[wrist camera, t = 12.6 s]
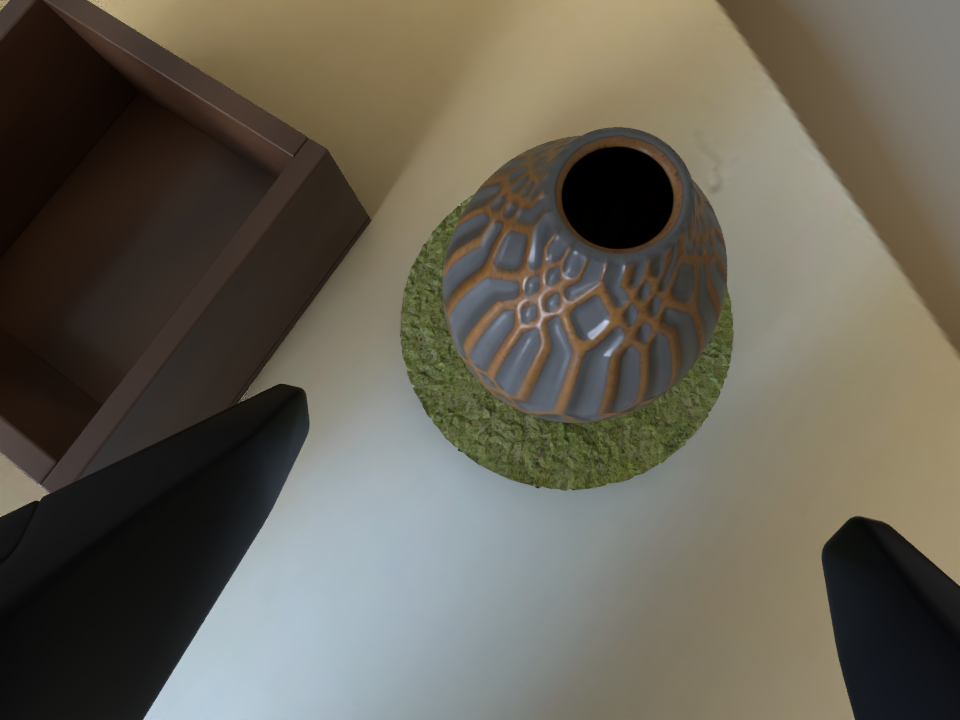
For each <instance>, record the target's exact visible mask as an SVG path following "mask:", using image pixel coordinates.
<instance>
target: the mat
mask: <svg viewBox="0 0 960 720" xmlns="http://www.w3.org/2000/svg"><path fill="white" fill-rule="evenodd" d="M473 196H474V195H472V196H471V197H469V198H468V199H467V200H465V201H464V202H463V203H461V206H457V208H456V209H454V211H453V212H452V213H451V214H449V215H448V216H447V217H446V218H445V219H444V220H443V221H442V222H441V223H440V224H439V226H438V227H437V228H436V229H435V230H434V231H433V232H432V234H431V236H430V238H429V239H428V241H427V242H426V244H424V245H423V247H422V250H421V252H420V254H419V256H418V257H417V258H416V261H415V263H414V265H413V266H412V268H411V272H410V276H409V277H408V281H407V285H406V288H405V291H404V296H403V306H402V312H401V334H400V337H401V345H402V348H403V349H402V354H403V358H404V360H405V364H406V367H407V373H408V376H409V379H410V381H411V383H412V384H413V385H414V388H413V389H414V391H415V393H416V394H417V396H418V398H419V399H420V401H421V403H422V405H423V407H424V409H425V411H426V413H427V415H428V416H429V417H430V418H432V420H433V423H434V424H435V425H436V426H437V427H438V428H439V429H440V431H441V432H442V433H443V435H444V436H445V438H446V439H447V440H449V441H450V442H451V443H452V444H453V445H454V446H455V447H458V448H459V449H458V451H461V452H464V453H465V454H466V455H467V456H468V457H469V458H471V459H472V460H473V461H475V462H476V463H477V464H479V465H481V466H483V467H485V468H487V469H489V470H491V471H493V472H495V473H497V474H499V475H501V476H504V477H506V478H508V479H511V480H514V481H517V482H521V483H525V484H529V485H532V486H534V487H536V488H539V487H541V486H543V487H546V488H550V489H561V490H568V489H570V488H571V489H572V490H578V489H589V488H595V487H600V486H603V485H606V484H607V483H617V482H621V481H625V480H629V479H631V478H633V476H635V475H639V474H643V473H645V472H646V471H648V470H649V469H651V468H653V467H654V466H656V465H659V463H662V462H663V461H664V460H665V459H666V458H668V457H669V456H670V455H672V454H673V453H674V452H675V451H677V450H678V449H679V448H681V447H682V446H683V445H685V443H686V440H687V439H689V438H690V437H691V436H692V435H693V434H694V433H695V432H696V431H697V430H698V428H699V427H700V426H701V425H702V423H703V421H704V420H705V419H706V418H707V417H708V412H709V411H711V408H712V407H713V405H714V404H715V403H716V401H717V399H718V397H719V394H720V390H721V389H722V386H723V383H724V379H725V378H726V377H727V374H726V373H727V371H728V369H729V367H730V366H729V365H728V364H729V363H730V359H731V352H732V342H733V329H732V328H733V321H732V313H731V301H730V297H729V294H728V290H727V286H726V292H725V298H724V302H723V306H722V310H721V314H720V317H719V320H718V323H717V325H716V327H715V330H714V332H713V334H712V336H711V339H710V340H709V342H708V344H707V346H706V348H705V349H704V351H703V353H702V354H701V356H700V357H699V359H698V360H697V362H696V363H695V364H694V365H693V367H692V368H691V369H690V370H689V372H688V373H687V374H686V375H685V376H684V377H683V378H682V379H681V380H680V381H679V382H678V383H677V384H676V385H675V386H673V387H672V388H671V389H670V390H669V391H667V392H666V393H665V394H664V395H662V396H661V397H659V398H658V399H656V400H655V401H653V402H652V403H650V404H648V405H646V406H644V407H642V408H640V409H638V410H636V411H633V412H631V413H628V414H625V415H622V416H620V417H616V418H612V419H609V420H603V421H598V422H588V423H564V422H556V421H550V420H545V419H541V418H538V417H534V416H531V415H529V414H526V413H524V412H521V411H519V410H517V409H515V408H513V407H511V406H510V405H508V404H506V403H505V402H503V401H502V400H500V399H499V398H497V397H496V396H495V395H493V394H492V393H491V392H490V391H488V390H487V389H486V388H485V387H484V386H483V385H482V384H481V383H480V382H479V381H478V379H477V378H476V377H475V376H474V375H473V374H472V372H471V371H470V370H469V368H468V367H467V366H466V364H465V363H464V361H463V359H462V358H461V356H460V354H459V352H458V351H457V349H456V346H455V344H454V342H453V340H452V337H451V334H450V331H449V328H448V325H447V321H446V317H445V312H444V306H443V295H442V283H443V269H444V263H445V258H446V254H447V250H448V246H449V243H450V240H451V237H452V234H453V232H454V229H455V227H456V225H457V223H458V220H459V219H460V217H461V215H462V213H463V211H464V209H465V208H466V206H467V205H468V203H469V202H470V200H471V199H472V197H473ZM658 462H659V463H658Z"/></svg>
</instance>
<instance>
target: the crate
mask: <svg viewBox="0 0 960 720" xmlns="http://www.w3.org/2000/svg"><path fill="white" fill-rule="evenodd" d="M370 221H371V219H370V217H369V216H368V215H367V213H366V211H365V210H364V208H363V206H362V205H361V203H360V201H359V200H358V198H357V197H356V195H355V193H354V192H353V190H352V188H351V187H350V185H349V184H348V182H347V180H346V179H345V177H344V175H343V174H342V172H341V171H340V169H339V167H338V166H337V164H336V162H335V161H334V159H333V158H332V156H331V154H330V153H329V151H328V150H327V149H326V148H324V147H323V146H321V145H319V144H318V143H316V142H315V141H313V140H311V139H308V137H307V136H305V135H304V134H302V133H300V132H299V131H297V130H295V129H294V128H292V127H291V126H289V125H287V124H286V123H284V122H283V121H281V120H279V119H278V118H276V117H274V116H273V115H271V114H270V113H268V112H266V111H265V110H263V109H262V108H260V107H258V106H257V105H255V104H254V103H252V102H250V101H249V100H247V99H245V98H244V97H242V96H241V95H239V94H237V93H236V92H234V91H233V90H231V89H229V88H228V87H226V86H225V85H223V84H221V83H220V82H218V81H216V80H215V79H213V78H212V77H210V76H208V75H207V74H205V73H204V72H202V71H200V70H199V69H197V68H195V67H194V66H192V65H191V64H189V63H187V62H186V61H184V60H183V59H181V58H179V57H178V56H176V55H175V54H173V53H171V52H170V51H168V50H166V49H165V48H163V47H162V46H160V45H158V44H157V43H155V42H154V41H152V40H150V39H149V38H147V37H145V36H144V35H142V34H141V33H139V32H137V31H136V30H134V29H133V28H131V27H129V26H128V25H126V24H125V23H123V22H121V21H120V20H118V19H116V18H115V17H113V16H112V15H110V14H108V13H107V12H105V11H104V10H102V9H100V8H99V7H97V6H95V5H94V4H92V3H91V2H89V1H87V0H10V1H9V2H8V3H7V4H6V5H5V6H4V8H3V9H2V10H1V11H0V453H1V454H2V455H3V456H4V457H6V458H7V459H8V460H9V461H11V462H12V463H13V464H14V465H15V466H17V467H18V468H19V469H20V470H21V471H23V472H24V473H25V474H26V475H28V476H29V477H30V478H31V479H32V480H34V481H35V482H36V483H37V484H40V485H41V486H42V487H43V488H44V489H45V490H46V491H47V492H49V493H53V492H55V491H57V490H59V489H61V488H63V487H65V486H67V485H69V484H71V483H73V482H75V481H78V480H80V479H82V478H84V477H86V476H88V475H90V474H92V473H94V472H96V471H98V470H101V469H103V468H105V467H107V466H109V465H111V464H113V463H115V462H117V461H119V460H121V459H123V458H126V457H128V456H130V455H132V454H134V453H136V452H138V451H140V450H142V449H144V448H146V447H149V446H151V445H153V444H155V443H157V442H159V441H161V440H163V439H165V438H167V437H169V436H171V435H174V434H176V433H178V432H180V431H182V430H184V429H186V428H188V427H190V426H192V425H194V424H197V423H199V422H201V421H203V420H205V419H207V418H209V417H211V416H213V415H215V414H217V413H219V412H222V411H224V410H226V409H228V408H230V407H232V406H234V405H236V403H237V402H238V401H239V399H240V398H241V397H242V395H243V394H244V392H245V391H246V390H247V388H248V387H249V386H250V384H251V383H252V382H253V380H254V379H255V378H256V376H257V375H258V373H259V372H260V371H261V369H262V368H263V367H264V365H265V364H266V363H267V361H268V360H269V359H270V357H271V356H272V354H273V353H274V352H275V350H276V349H277V348H278V346H279V345H280V344H281V342H282V341H283V340H284V338H285V337H286V335H287V334H288V333H289V331H290V330H291V329H292V327H293V326H294V325H295V323H296V322H297V320H298V319H299V318H300V316H301V315H302V314H303V312H304V311H305V310H306V308H307V307H308V306H309V304H310V303H311V301H312V300H313V299H314V297H315V296H316V295H317V293H318V292H319V291H320V289H321V288H322V287H323V285H324V284H325V282H326V281H327V280H328V278H329V277H330V276H331V274H332V273H333V272H334V270H335V269H336V268H337V266H338V265H339V263H340V262H341V261H342V259H343V258H344V257H345V255H346V254H347V253H348V251H349V250H350V249H351V247H352V246H353V244H354V243H355V242H356V240H357V239H358V238H359V236H360V235H361V234H362V232H363V231H364V229H365V228H366V227H367V225H368V224H369V223H370Z"/></svg>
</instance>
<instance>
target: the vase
mask: <svg viewBox="0 0 960 720" xmlns="http://www.w3.org/2000/svg"><path fill="white" fill-rule="evenodd" d="M726 286H727V256H726V248H725V242H724V238H723V234H722V231H721V228H720V225H719V222H718V220H717V217H716V215H715V213H714V211H713V208H712V206H711V205H710V203H709V201H708V199H707V198H706V196H705V195H704V193H703V192H702V190H701V189H700V188H699V187H698V185H697V184H696V183H695V182H694V181H693V179H692V178H691V176H690V173H689V171H688V169H687V167H686V165H685V163H684V162H683V160H682V159H681V158H680V156H679V155H678V154H677V153H676V152H675V151H674V150H673V149H672V148H671V147H670V146H669V145H668V144H666V143H665V142H663V141H662V140H660V139H659V138H657V137H655V136H653V135H651V134H649V133H646V132H643V131H640V130H636V129H631V128H622V127H614V128H604V129H599V130H595V131H592V132H589V133H587V134H584V135H582V136H573V137H567V138H562V139H557V140H554V141H550V142H547V143H544V144H541V145H539V146H536V147H534V148H532V149H529V150H527V151H525V152H523V153H522V154H520V155H518V156H516V157H515V158H513V159H511V160H510V161H509V162H507V163H506V164H504V165H503V166H502V167H501V168H499V169H498V170H497V171H496V172H495V173H494V174H493V175H491V176H490V177H489V178H488V179H487V180H486V181H485V182H484V183H483V185H482V186H481V187H480V188H479V189H478V191H477V192H476V193H475V194H474V196H473V197H472V199H471V200H470V202H469V203H468V205H467V206H466V208H465V209H464V211H463V213H462V215H461V217H460V219H459V220H458V223H457V225H456V227H455V229H454V232H453V234H452V237H451V240H450V243H449V246H448V250H447V254H446V258H445V263H444V269H443V283H442V295H443V306H444V312H445V317H446V321H447V325H448V328H449V331H450V334H451V337H452V340H453V342H454V344H455V346H456V349H457V351H458V352H459V354H460V356H461V358H462V359H463V361H464V363H465V364H466V366H467V367H468V368H469V370H470V371H471V372H472V374H473V375H474V376H475V377H476V378H477V379H478V381H479V382H480V383H481V384H482V385H483V386H484V387H485V388H486V389H487V390H488V391H490V392H491V393H492V394H493V395H495V396H496V397H497V398H499V399H500V400H502V401H503V402H505V403H506V404H508V405H510V406H511V407H513V408H515V409H517V410H519V411H521V412H524V413H526V414H529V415H531V416H534V417H538V418H541V419H545V420H550V421H556V422H564V423H588V422H598V421H603V420H609V419H612V418H616V417H620V416H622V415H625V414H628V413H631V412H633V411H636V410H638V409H640V408H642V407H644V406H646V405H648V404H650V403H652V402H653V401H655V400H656V399H658V398H659V397H661V396H662V395H664V394H665V393H666V392H667V391H669V390H670V389H671V388H672V387H673V386H675V385H676V384H677V383H678V382H679V381H680V380H681V379H682V378H683V377H684V376H685V375H686V374H687V373H688V372H689V370H690V369H691V368H692V367H693V365H694V364H695V363H696V362H697V360H698V359H699V357H700V356H701V354H702V353H703V351H704V349H705V348H706V346H707V344H708V342H709V340H710V339H711V336H712V334H713V332H714V330H715V327H716V325H717V323H718V320H719V317H720V314H721V310H722V306H723V302H724V298H725V292H726Z"/></svg>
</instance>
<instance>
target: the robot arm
mask: <svg viewBox="0 0 960 720" xmlns="http://www.w3.org/2000/svg"><path fill="white" fill-rule="evenodd" d="M309 425H310V424H309V414H308V405H307V397H306V393H305V391H304V390H303V389H302V388H299V387H295V386H290V385H286V384H279V385H276V386H274V387H272V388H270V389H267V390H265V391H263V392H261V393H259V394H257V395H255V396H253V397H251V398H249V399H247V400H245V401H242V402H240V403H238V404H236V405H234V406H232V407H230V408H228V409H226V410H224V411H222V412H219V413H217V414H215V415H213V416H211V417H209V418H207V419H205V420H203V421H201V422H199V423H197V424H194V425H192V426H190V427H188V428H186V429H184V430H182V431H180V432H178V433H176V434H174V435H171V436H169V437H167V438H165V439H163V440H161V441H159V442H157V443H155V444H153V445H151V446H149V447H146V448H144V449H142V450H140V451H138V452H136V453H134V454H132V455H130V456H128V457H126V458H123V459H121V460H119V461H117V462H115V463H113V464H111V465H109V466H107V467H105V468H103V469H101V470H98V471H96V472H94V473H92V474H90V475H88V476H86V477H84V478H82V479H80V480H78V481H75V482H73V483H71V484H69V485H67V486H65V487H63V488H61V489H59V490H57V491H55V492H53V493H50V494H48V495H46V496H44V497H43V498H42V499H41V500H40V501H33V502H31V503H29V504H27V505H25V506H23V507H21V508H19V509H17V510H15V511H12V512H10V513H8V514H6V515H4V516H2V517H0V720H143V719H144V717H145V716H146V714H147V712H148V711H149V709H150V708H151V706H152V704H153V703H154V701H155V700H156V698H157V696H158V695H159V693H160V691H161V690H162V688H163V687H164V685H165V683H166V682H167V680H168V678H169V677H170V675H171V674H172V672H173V670H174V669H175V667H176V665H177V664H178V662H179V661H180V659H181V657H182V656H183V654H184V652H185V651H186V649H187V648H188V646H189V644H190V643H191V641H192V639H193V638H194V636H195V635H196V633H197V631H198V630H199V628H200V627H201V625H202V623H203V622H204V620H205V618H206V617H207V615H208V614H209V612H210V610H211V609H212V607H213V605H214V604H215V602H216V601H217V599H218V597H219V596H220V594H221V592H222V591H223V589H224V588H225V586H226V584H227V583H228V581H229V579H230V578H231V576H232V575H233V573H234V571H235V570H236V568H237V567H238V565H239V563H240V562H241V560H242V558H243V557H244V555H245V554H246V552H247V550H248V549H249V547H250V545H251V544H252V542H253V541H254V539H255V537H256V536H257V534H258V532H259V531H260V529H261V528H262V526H263V524H264V523H265V521H266V519H267V517H268V516H269V514H270V512H271V510H272V508H273V506H274V504H275V502H276V500H277V498H278V496H279V494H280V492H281V490H282V488H283V486H284V483H285V481H286V479H287V477H288V475H289V473H290V471H291V469H292V467H293V464H294V462H295V460H296V458H297V456H298V454H299V452H300V450H301V448H302V445H303V443H304V441H305V439H306V437H307V434H308V431H309ZM822 565H823V571H824V577H825V583H826V589H827V595H828V601H829V607H830V613H831V619H832V625H833V631H834V637H835V642H836V647H837V652H838V657H839V661H840V665H841V670H842V674H843V677H844V681H845V685H846V688H847V692H848V695H849V699H850V703H851V706H852V710H853V714H854V717H855V720H960V586H959V585H958V584H956V583H955V582H954V581H953V580H952V579H951V578H950V577H948V576H947V575H946V574H945V573H944V572H943V571H942V570H940V569H939V568H938V567H937V566H936V565H935V564H934V563H932V562H931V561H930V560H929V559H928V558H927V557H925V556H924V555H923V554H922V553H921V552H920V551H919V550H917V549H916V548H915V547H914V546H913V545H912V544H911V543H909V542H908V541H907V540H906V539H905V538H904V537H903V536H901V535H900V534H899V533H898V532H897V531H896V530H894V529H893V528H892V527H891V526H890V525H888V524H886V523H884V522H882V521H878V520H874V519H869V518H865V517H861V516H855V517H852V518H850V519H849V520H848V521H847V522H846V523H845V524H844V525H843V526H842V527H841V528H840V529H839V530H838V531H837V532H836V533H835V534H834V535H833V536H832V537H831V538H830V539H829V540H828V541H827V542H826V544H825V545H824V547H823V550H822Z"/></svg>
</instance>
